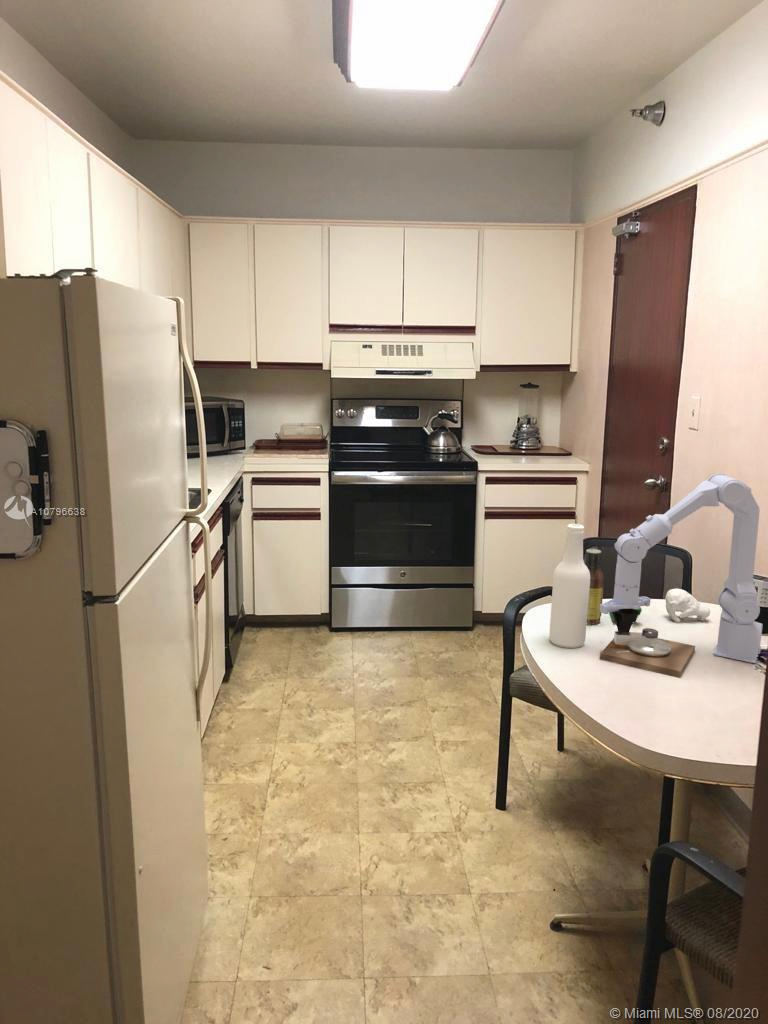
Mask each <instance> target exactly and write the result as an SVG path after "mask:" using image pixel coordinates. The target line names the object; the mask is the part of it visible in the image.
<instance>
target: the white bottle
mask: <svg viewBox="0 0 768 1024" xmlns="http://www.w3.org/2000/svg"><path fill="white" fill-rule="evenodd" d="M566 528H567V529H566V539H565V544H564V545H565V546H564V552H563V558H562V559H561V562H560V563H559V564H557V566H556V567H555V569H554V572H553V577H552V591H551V592H552V593H551V603H550V605H551V607H550V622H549V633H548V634H549V635H548V638H549V640H550V642H551V643H552V644H553V645H554V644H555V646H557V647H560V646H561V647H560V648H564V647H565V649H577V648H581V647H582V646H583V645H584V644H585V642H586V638H587V637H586V635H587V627H588V626H587V613H588V601H589V589H590V572H589V570H588V568H587V566H586V565H585V564H586V563H585V561H584V533H585V531H584V529H585V526H584V525H582V524H579V523H570V524H568V525H567V526H566Z"/></svg>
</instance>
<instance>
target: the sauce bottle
mask: <svg viewBox="0 0 768 1024" xmlns="http://www.w3.org/2000/svg"><path fill="white" fill-rule="evenodd" d="M602 554H603V553H602V551H601V550H600V549H597V548H588V549H586V550H585V563H584V564H585V565H586V566H587V568H588V570H589V572H590V589H589V601H588V613H587V624H588V625H597V624H599V623H600V622H601V617H602V613H601V612H600V604H603V596H604V579H605V578H604V574H603V571H602V570H601V558H602Z"/></svg>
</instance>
